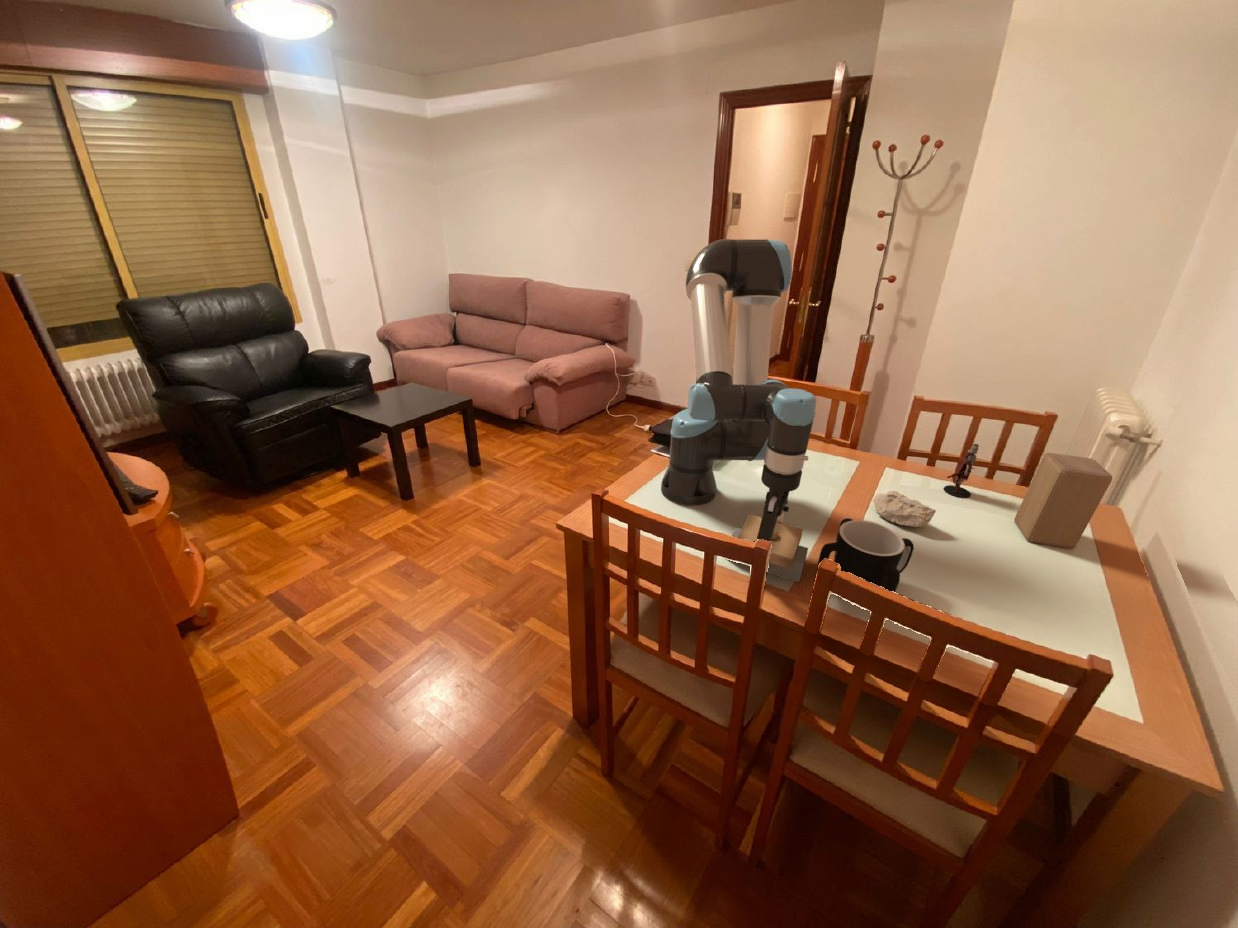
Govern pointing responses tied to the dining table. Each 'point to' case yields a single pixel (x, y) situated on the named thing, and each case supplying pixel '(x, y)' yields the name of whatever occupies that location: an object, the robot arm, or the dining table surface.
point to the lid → (775, 540)
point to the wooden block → (1061, 499)
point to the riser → (783, 571)
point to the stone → (902, 509)
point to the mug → (870, 552)
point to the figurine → (962, 474)
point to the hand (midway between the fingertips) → (766, 551)
